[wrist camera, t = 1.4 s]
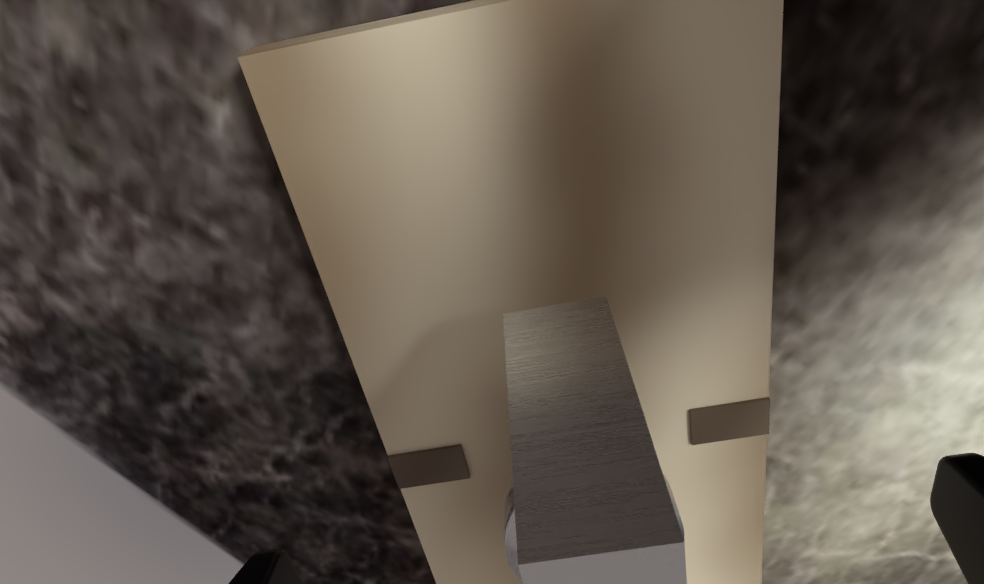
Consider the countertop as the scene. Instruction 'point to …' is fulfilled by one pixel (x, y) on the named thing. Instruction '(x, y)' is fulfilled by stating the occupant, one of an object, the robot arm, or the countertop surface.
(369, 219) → the post board
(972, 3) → the countertop surface
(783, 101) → the countertop surface
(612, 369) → the grey rectangular bar
